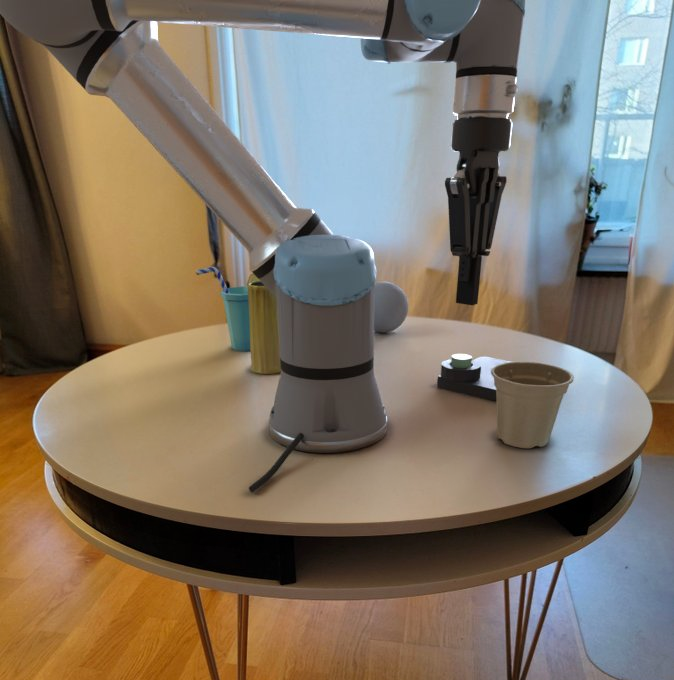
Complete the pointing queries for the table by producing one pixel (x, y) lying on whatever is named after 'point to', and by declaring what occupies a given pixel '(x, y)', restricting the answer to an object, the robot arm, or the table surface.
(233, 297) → the cup
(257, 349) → the vase
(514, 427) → the flower pot
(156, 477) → the table surface
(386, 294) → the decorative stone
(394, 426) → the table surface
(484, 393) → the scale
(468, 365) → the button
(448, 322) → the table surface
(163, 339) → the table surface
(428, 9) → the robot arm
